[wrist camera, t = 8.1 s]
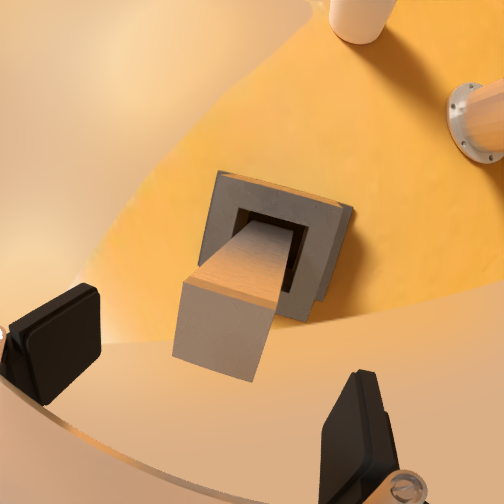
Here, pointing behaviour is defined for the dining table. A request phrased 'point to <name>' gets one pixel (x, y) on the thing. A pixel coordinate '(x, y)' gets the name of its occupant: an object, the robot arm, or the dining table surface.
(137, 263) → the dining table surface
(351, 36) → the milk bottle
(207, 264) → the column
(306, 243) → the housing
